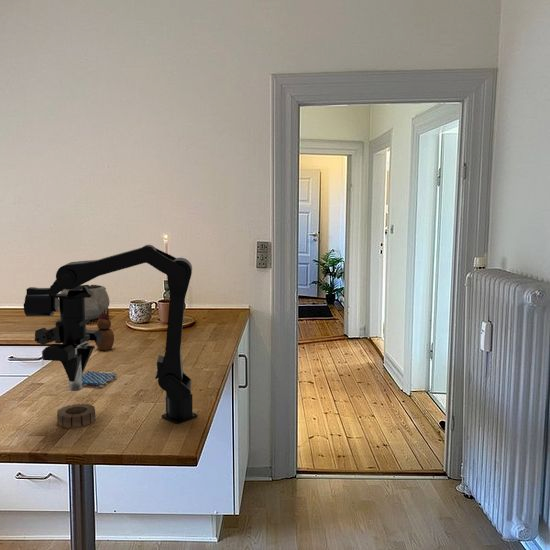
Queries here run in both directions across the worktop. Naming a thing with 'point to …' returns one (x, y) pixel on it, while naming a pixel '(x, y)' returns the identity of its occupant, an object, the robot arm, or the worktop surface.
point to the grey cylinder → (77, 380)
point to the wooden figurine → (105, 331)
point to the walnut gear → (76, 415)
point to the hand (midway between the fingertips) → (75, 379)
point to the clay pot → (93, 300)
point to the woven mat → (97, 379)
